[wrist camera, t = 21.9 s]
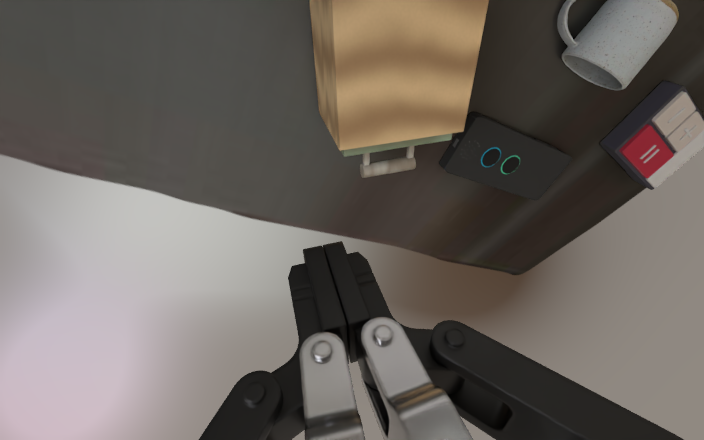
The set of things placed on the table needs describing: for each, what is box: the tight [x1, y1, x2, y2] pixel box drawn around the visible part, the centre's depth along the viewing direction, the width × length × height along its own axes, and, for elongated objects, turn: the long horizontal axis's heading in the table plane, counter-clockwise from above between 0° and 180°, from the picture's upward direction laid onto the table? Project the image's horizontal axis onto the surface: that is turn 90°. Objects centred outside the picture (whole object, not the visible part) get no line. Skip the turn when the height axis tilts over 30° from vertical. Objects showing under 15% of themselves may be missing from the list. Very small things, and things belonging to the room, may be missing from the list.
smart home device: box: [439, 112, 572, 200], centre depth 48 cm, size 8×2×20 cm
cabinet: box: [309, 0, 489, 151], centre depth 31 cm, size 14×12×9 cm
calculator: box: [600, 81, 704, 190], centre depth 53 cm, size 11×4×15 cm
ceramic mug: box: [557, 0, 679, 90], centre depth 37 cm, size 11×8×8 cm
